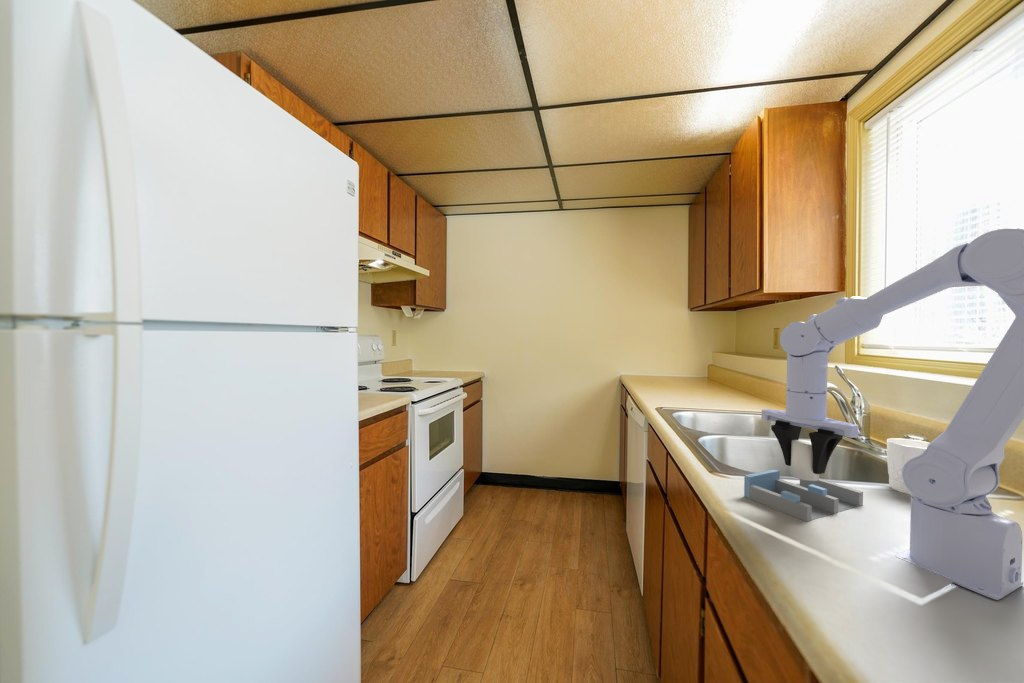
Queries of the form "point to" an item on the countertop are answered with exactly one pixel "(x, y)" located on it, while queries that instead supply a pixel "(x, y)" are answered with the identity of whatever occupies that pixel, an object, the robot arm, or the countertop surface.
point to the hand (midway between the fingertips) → (804, 468)
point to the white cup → (901, 459)
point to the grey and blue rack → (800, 495)
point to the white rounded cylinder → (802, 460)
